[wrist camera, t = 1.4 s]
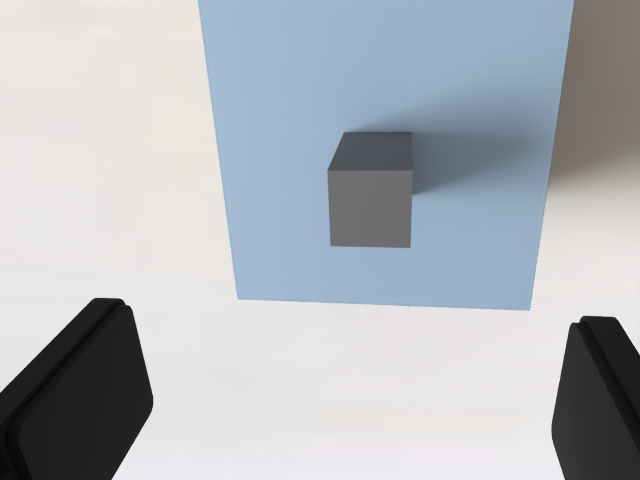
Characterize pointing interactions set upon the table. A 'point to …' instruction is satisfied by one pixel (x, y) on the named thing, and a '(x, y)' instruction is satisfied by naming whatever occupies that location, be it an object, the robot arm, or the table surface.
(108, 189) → the table surface
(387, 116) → the lid
